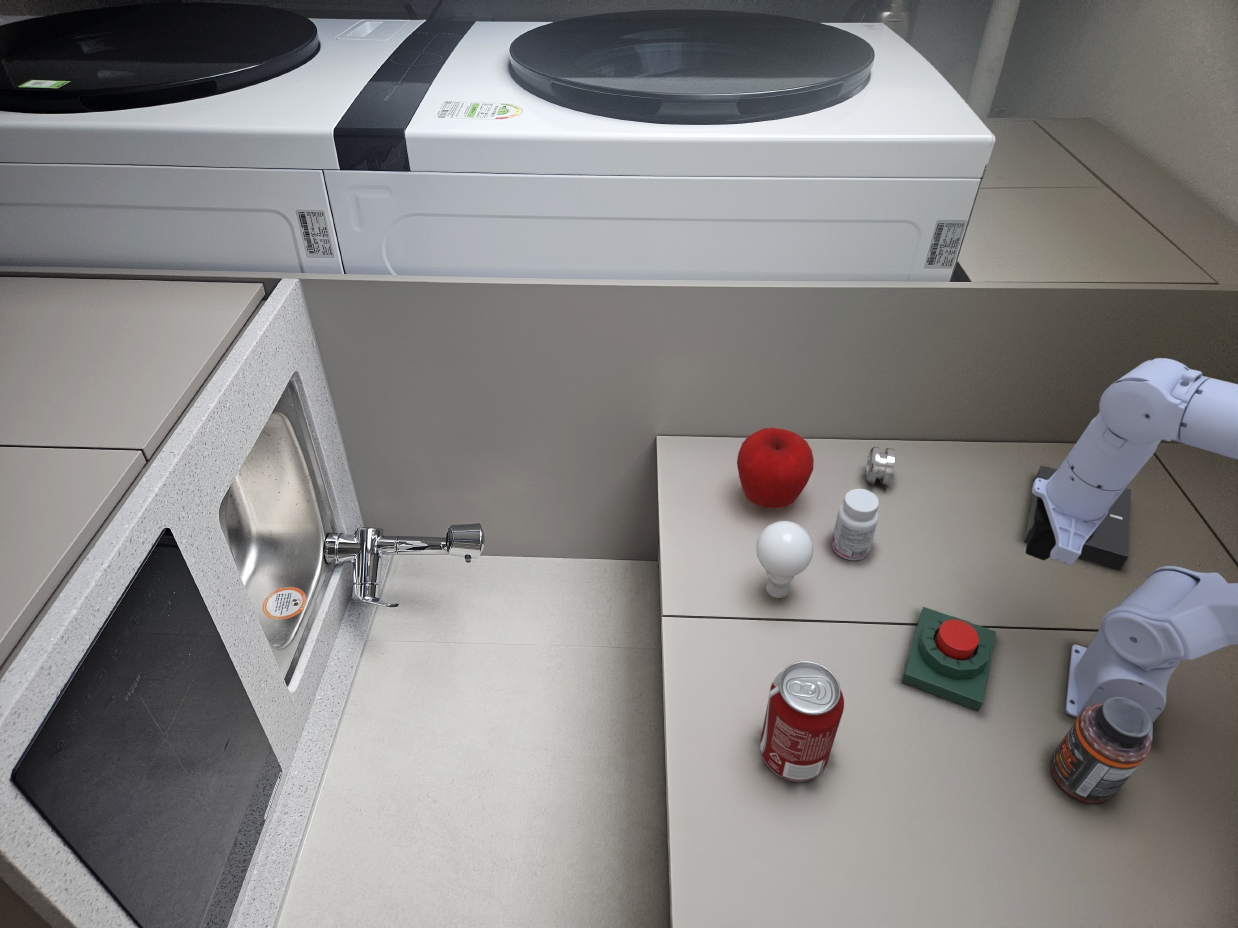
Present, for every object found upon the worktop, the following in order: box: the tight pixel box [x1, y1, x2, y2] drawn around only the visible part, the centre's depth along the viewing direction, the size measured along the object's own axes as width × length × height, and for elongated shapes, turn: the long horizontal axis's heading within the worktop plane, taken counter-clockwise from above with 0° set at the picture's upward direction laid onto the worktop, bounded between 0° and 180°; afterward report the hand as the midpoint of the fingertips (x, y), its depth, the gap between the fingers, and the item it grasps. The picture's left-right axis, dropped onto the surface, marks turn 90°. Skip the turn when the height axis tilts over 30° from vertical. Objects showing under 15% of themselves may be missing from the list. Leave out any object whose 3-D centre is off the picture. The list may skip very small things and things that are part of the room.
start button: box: [936, 620, 979, 660], centre depth 86 cm, size 4×4×2 cm
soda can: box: [759, 660, 845, 783], centre depth 77 cm, size 7×7×12 cm
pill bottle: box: [831, 488, 880, 561], centre depth 99 cm, size 5×5×8 cm
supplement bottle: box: [1049, 697, 1152, 804], centre depth 75 cm, size 6×6×11 cm
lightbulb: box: [755, 520, 814, 599], centre depth 93 cm, size 6×6×11 cm
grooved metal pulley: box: [865, 446, 896, 486], centre depth 109 cm, size 5×3×5 cm, turn 166°
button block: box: [901, 606, 997, 712], centre depth 88 cm, size 10×8×4 cm
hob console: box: [1024, 464, 1132, 571], centre depth 103 cm, size 13×11×3 cm
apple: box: [736, 427, 815, 509], centre depth 105 cm, size 10×10×11 cm
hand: (1035, 552), depth 87 cm, fingers closed
